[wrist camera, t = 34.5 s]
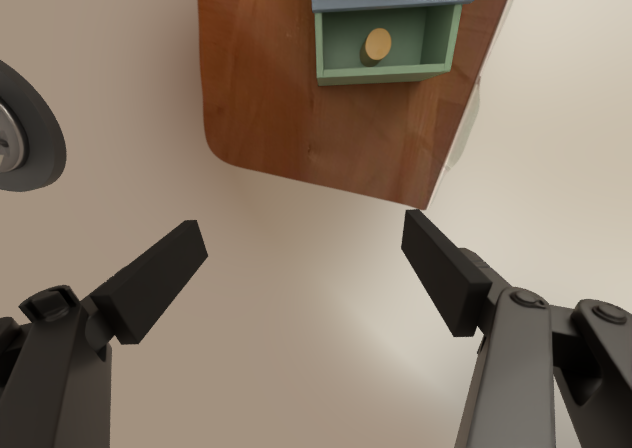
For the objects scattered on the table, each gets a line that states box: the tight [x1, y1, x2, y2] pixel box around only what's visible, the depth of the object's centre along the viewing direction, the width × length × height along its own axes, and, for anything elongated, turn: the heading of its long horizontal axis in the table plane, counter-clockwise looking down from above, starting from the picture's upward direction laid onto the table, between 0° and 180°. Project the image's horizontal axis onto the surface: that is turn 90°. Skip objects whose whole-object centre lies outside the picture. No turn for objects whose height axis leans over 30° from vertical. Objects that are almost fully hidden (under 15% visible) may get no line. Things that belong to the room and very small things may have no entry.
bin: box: [315, 4, 462, 86], centre depth 27 cm, size 16×15×9 cm
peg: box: [360, 28, 391, 67], centre depth 30 cm, size 3×3×5 cm
